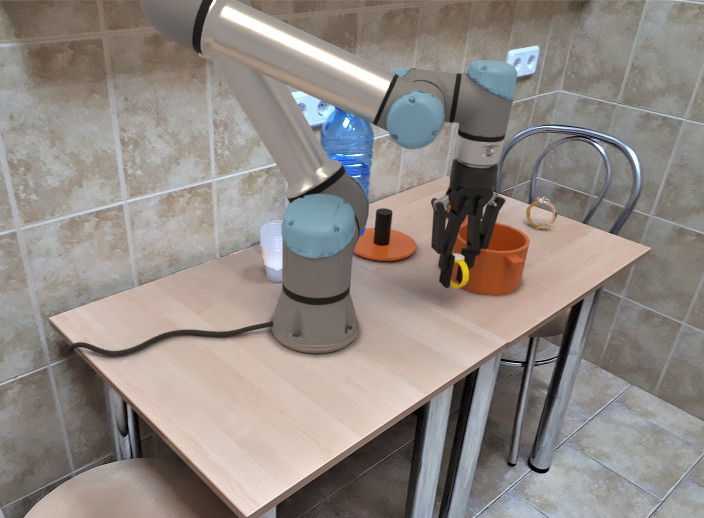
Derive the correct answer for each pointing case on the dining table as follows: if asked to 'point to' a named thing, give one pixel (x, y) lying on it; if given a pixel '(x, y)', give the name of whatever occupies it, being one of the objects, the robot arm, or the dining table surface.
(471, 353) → the dining table surface
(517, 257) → the pot
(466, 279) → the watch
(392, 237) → the lid
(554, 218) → the ring
